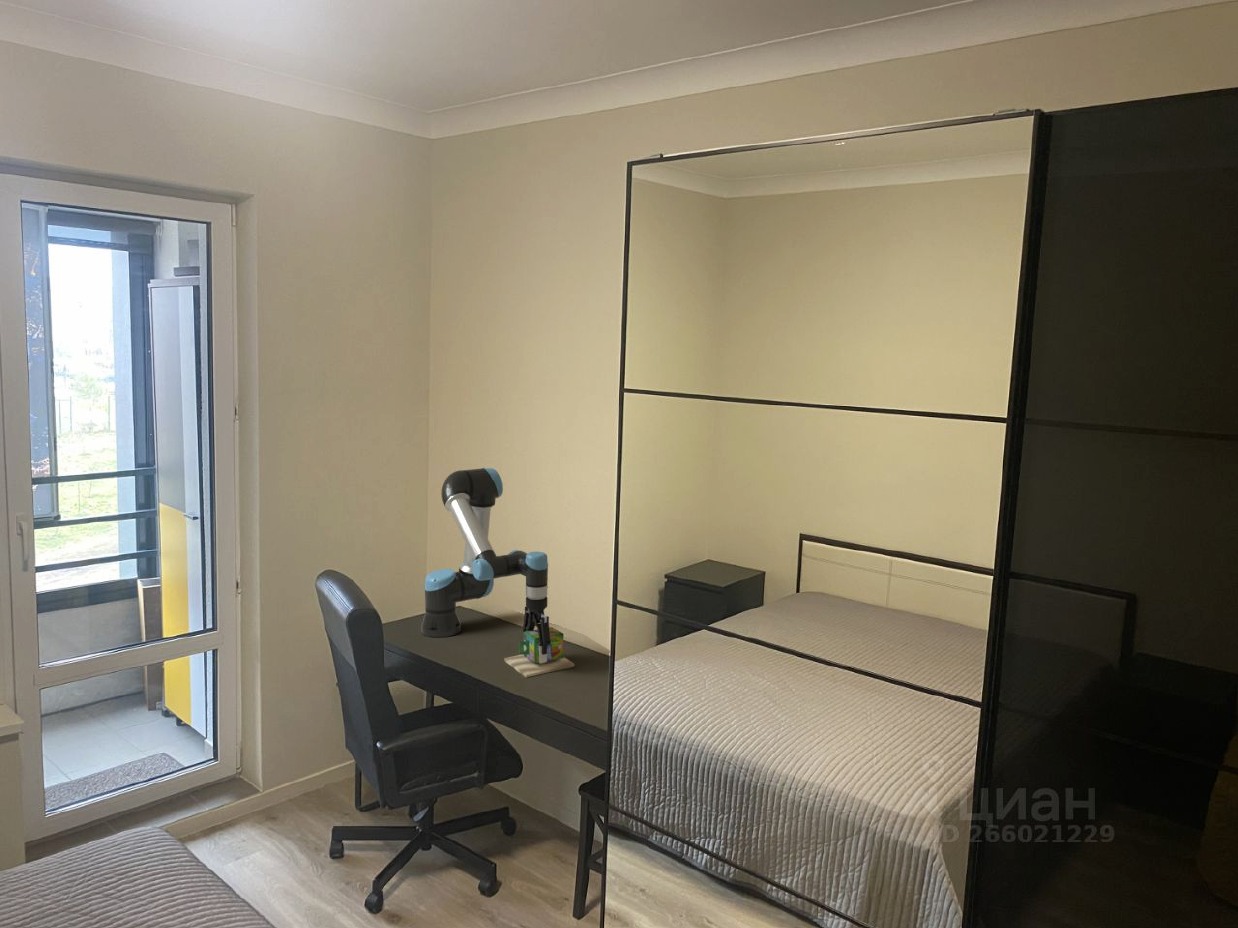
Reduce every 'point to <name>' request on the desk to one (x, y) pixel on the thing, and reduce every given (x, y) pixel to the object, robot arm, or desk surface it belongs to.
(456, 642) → the desk surface
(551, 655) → the chalk box
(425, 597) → the robot arm
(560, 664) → the birch board
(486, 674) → the desk surface
